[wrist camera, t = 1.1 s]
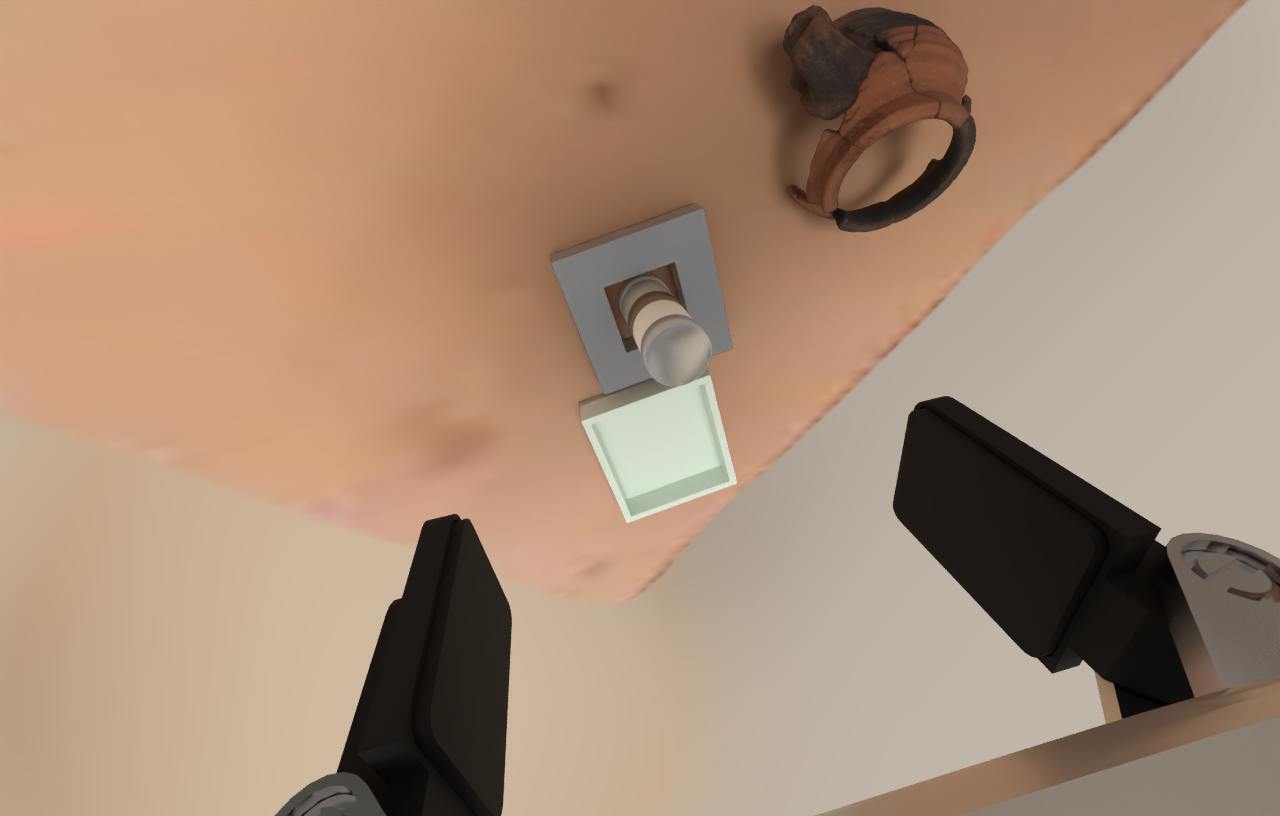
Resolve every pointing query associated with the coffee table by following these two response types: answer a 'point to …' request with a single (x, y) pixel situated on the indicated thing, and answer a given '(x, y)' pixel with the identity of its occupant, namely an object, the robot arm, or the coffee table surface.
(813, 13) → the pottery mug
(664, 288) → the cylinder
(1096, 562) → the robot arm
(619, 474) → the parts tray
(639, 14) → the coffee table surface
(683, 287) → the socket block
